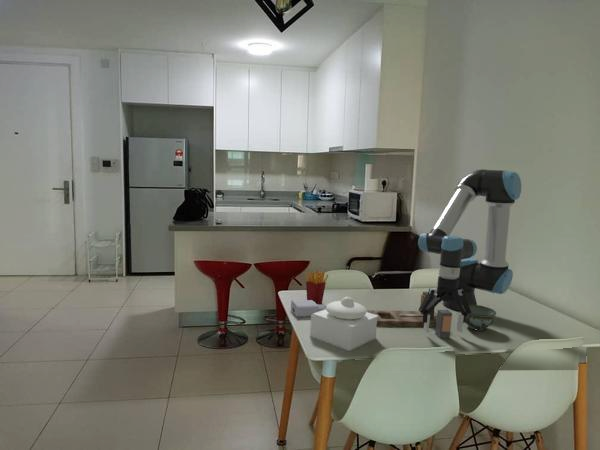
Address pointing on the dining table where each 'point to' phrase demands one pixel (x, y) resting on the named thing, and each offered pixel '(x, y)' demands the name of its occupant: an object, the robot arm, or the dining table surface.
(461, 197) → the robot arm
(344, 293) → the dining table surface
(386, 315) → the brown wooden stand
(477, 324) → the bowl
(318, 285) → the french fries
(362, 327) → the white lidded jar
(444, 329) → the grey orange block
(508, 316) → the dining table surface
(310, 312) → the charger
